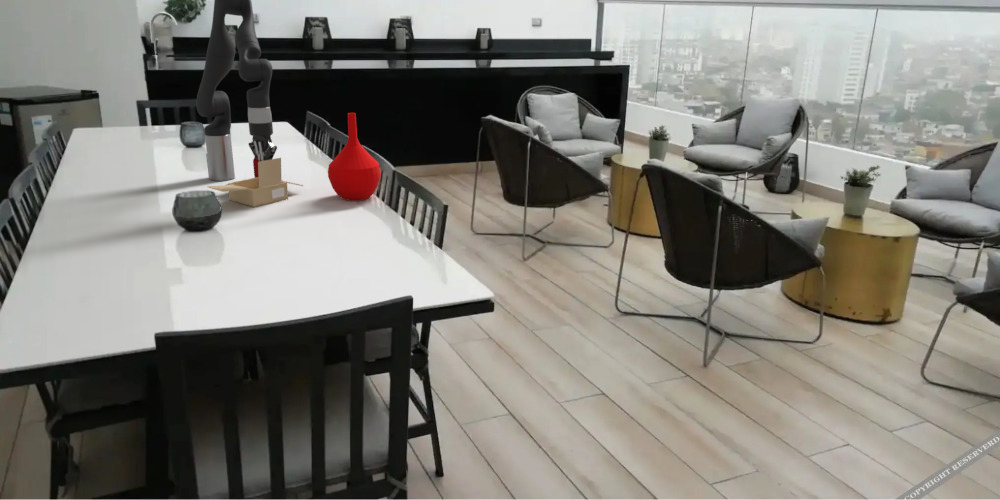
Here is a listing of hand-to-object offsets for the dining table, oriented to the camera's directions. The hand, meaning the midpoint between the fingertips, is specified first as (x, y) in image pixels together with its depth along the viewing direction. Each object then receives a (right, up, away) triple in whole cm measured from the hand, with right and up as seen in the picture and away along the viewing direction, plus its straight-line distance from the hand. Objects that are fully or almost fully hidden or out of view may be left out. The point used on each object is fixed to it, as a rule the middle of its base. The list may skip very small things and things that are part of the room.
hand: (264, 171), depth 251 cm
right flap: (-11, -6, -5) cm, 14 cm away
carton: (-5, -7, +12) cm, 15 cm away
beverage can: (-7, -4, +23) cm, 24 cm away
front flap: (+2, -1, -1) cm, 3 cm away
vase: (+29, -8, +12) cm, 32 cm away
